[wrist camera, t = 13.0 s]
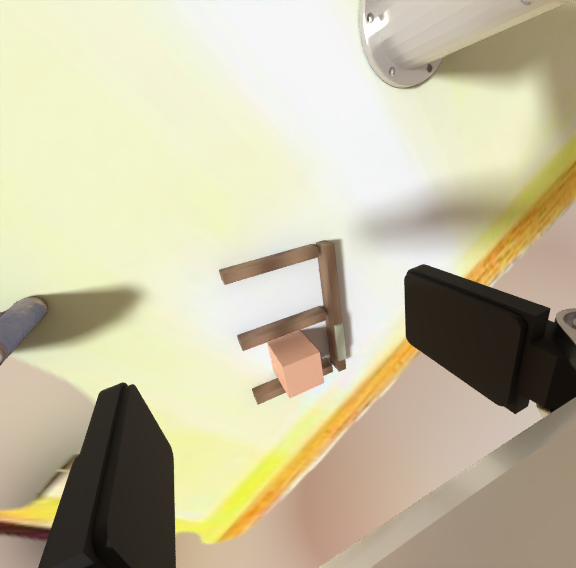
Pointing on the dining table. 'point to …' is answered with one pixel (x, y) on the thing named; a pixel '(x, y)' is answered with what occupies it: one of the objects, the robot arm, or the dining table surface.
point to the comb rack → (301, 320)
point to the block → (296, 363)
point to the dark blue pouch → (19, 323)
